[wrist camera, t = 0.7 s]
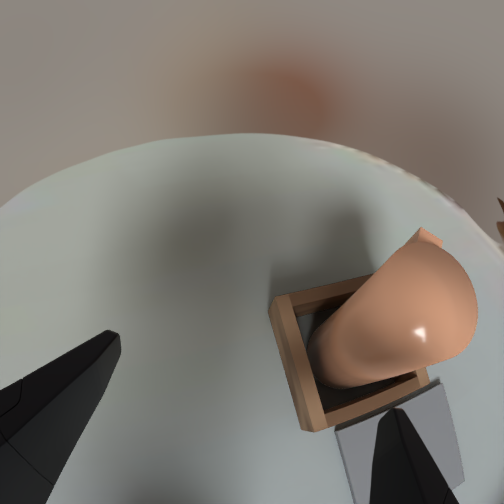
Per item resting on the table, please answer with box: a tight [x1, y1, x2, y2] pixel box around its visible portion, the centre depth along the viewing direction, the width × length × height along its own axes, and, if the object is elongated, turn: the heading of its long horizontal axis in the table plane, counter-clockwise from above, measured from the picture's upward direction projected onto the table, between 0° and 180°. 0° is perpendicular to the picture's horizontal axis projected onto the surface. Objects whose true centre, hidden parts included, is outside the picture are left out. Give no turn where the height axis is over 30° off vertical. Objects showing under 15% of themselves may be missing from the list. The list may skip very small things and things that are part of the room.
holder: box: [268, 274, 430, 432], centre depth 23 cm, size 10×10×4 cm
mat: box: [335, 383, 465, 504], centre depth 20 cm, size 11×11×1 cm
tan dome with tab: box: [307, 227, 478, 389], centre depth 20 cm, size 9×6×13 cm
